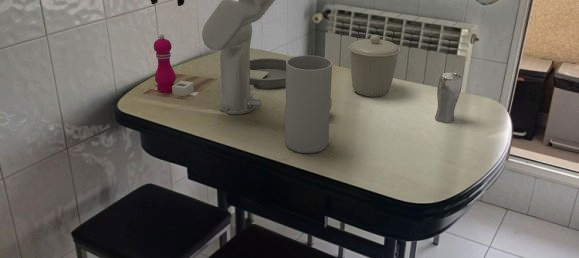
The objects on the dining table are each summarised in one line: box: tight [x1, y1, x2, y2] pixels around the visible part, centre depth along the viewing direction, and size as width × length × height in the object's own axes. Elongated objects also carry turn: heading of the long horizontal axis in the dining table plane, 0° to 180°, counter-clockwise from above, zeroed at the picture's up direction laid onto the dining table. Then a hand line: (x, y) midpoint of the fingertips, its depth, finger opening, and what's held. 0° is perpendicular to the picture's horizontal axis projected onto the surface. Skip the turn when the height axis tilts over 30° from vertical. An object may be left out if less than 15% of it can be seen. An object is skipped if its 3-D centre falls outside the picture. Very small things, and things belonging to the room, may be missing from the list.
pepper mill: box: [153, 34, 176, 93], centre depth 186 cm, size 7×7×20 cm
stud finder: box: [172, 81, 194, 96], centre depth 188 cm, size 5×6×3 cm
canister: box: [348, 34, 401, 97], centre depth 191 cm, size 18×18×21 cm
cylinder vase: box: [284, 55, 333, 154], centre depth 152 cm, size 12×12×25 cm
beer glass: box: [434, 71, 463, 124], centre depth 171 cm, size 7×7×15 cm
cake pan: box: [250, 57, 288, 89], centre depth 206 cm, size 25×25×4 cm
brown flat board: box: [142, 73, 218, 101], centre depth 194 cm, size 18×22×2 cm
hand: (167, 4), depth 180 cm, fingers open, 9 cm apart
